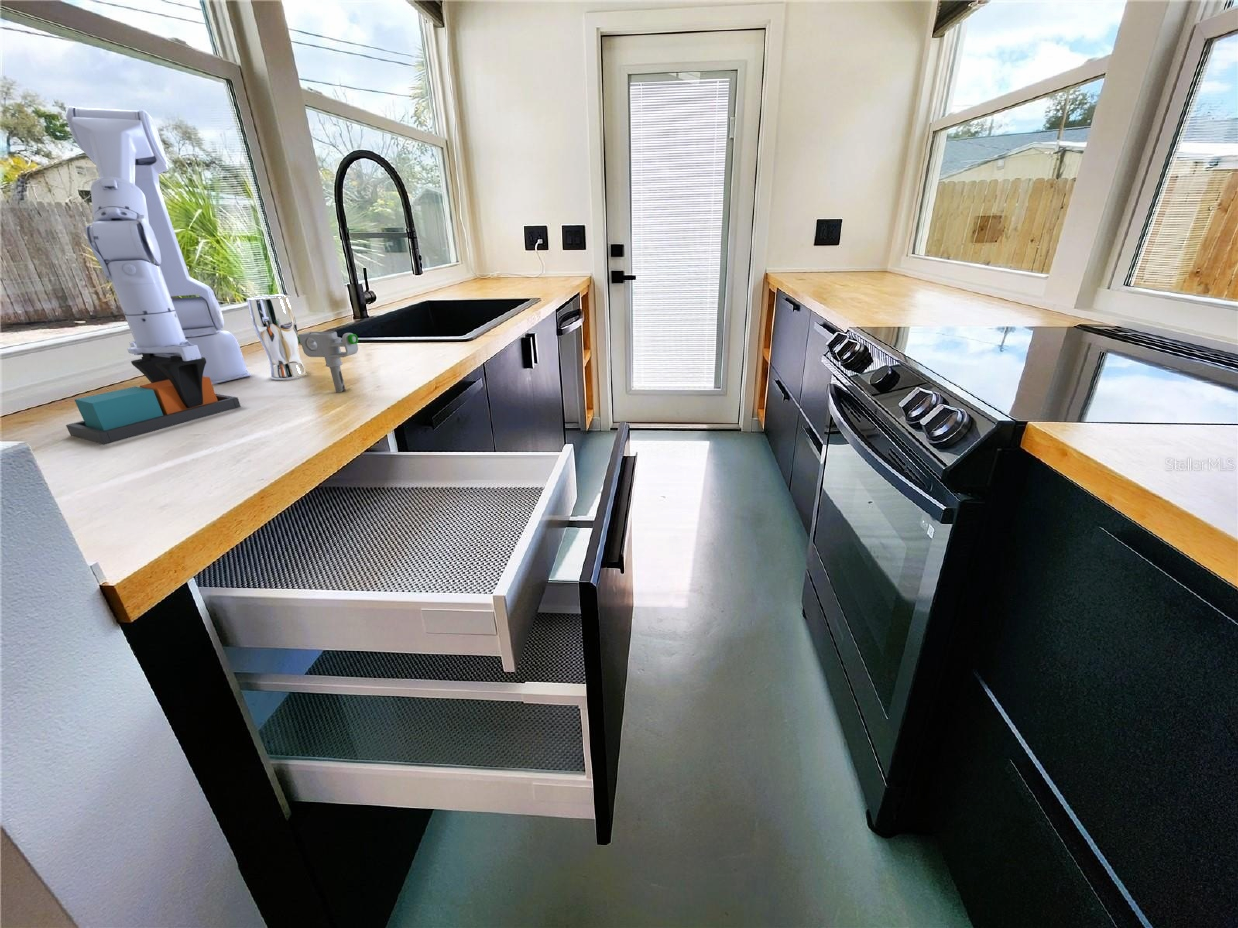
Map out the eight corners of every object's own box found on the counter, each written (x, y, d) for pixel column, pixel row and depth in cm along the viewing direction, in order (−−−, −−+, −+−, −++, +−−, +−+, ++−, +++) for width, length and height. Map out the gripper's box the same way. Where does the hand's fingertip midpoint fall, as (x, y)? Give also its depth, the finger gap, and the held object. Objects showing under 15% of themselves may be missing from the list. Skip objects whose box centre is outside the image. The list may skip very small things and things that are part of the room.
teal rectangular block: (148, 418, 80) (135, 386, 78) (166, 422, 78) (153, 389, 76) (89, 434, 74) (73, 399, 72) (107, 438, 72) (91, 403, 70)
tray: (207, 403, 89) (203, 391, 88) (242, 409, 85) (237, 397, 84) (71, 438, 74) (65, 424, 74) (105, 447, 70) (99, 433, 69)
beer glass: (267, 382, 100) (242, 299, 94) (270, 375, 106) (247, 296, 100) (309, 377, 103) (287, 296, 97) (310, 370, 109) (289, 293, 103)
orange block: (202, 404, 86) (191, 374, 84) (220, 408, 84) (209, 377, 82) (152, 418, 80) (139, 385, 78) (170, 421, 78) (157, 388, 76)
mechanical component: (361, 394, 90) (347, 334, 86) (309, 393, 92) (293, 334, 88) (372, 389, 93) (359, 331, 89) (321, 388, 95) (306, 331, 91)
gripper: (91, 315, 76) (129, 406, 81) (143, 318, 70) (181, 417, 75) (148, 308, 82) (181, 394, 87) (202, 311, 76) (233, 403, 81)
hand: (184, 404), depth 82 cm, fingers closed on orange block, 5 cm apart
